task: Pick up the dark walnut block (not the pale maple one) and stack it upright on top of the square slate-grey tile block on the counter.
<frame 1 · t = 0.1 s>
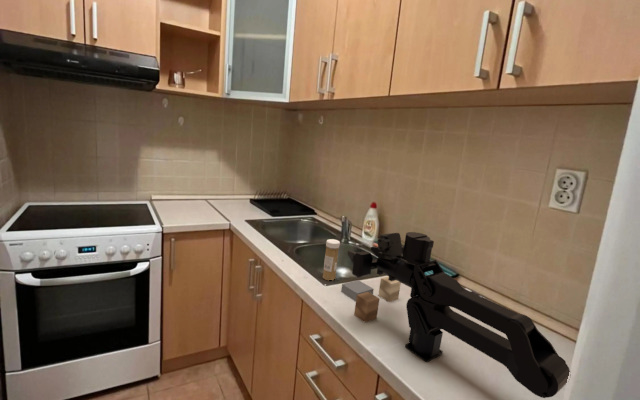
hand: (360, 250, 99), 17 cm above the countertop, tool horizontal, fingers open, 9 cm apart
tile block: (356, 295, 108), on the countertop
walnut block: (365, 316, 95), on the countertop
sprinkles bottle: (328, 278, 117), on the countertop
maple block: (388, 297, 108), on the countertop
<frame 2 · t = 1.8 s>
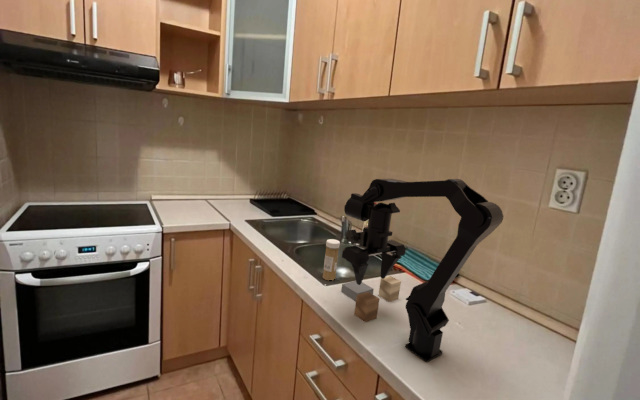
hand: (370, 281, 93), 11 cm above the countertop, tool pointing down, fingers open, 9 cm apart
nothing on the countertop moved.
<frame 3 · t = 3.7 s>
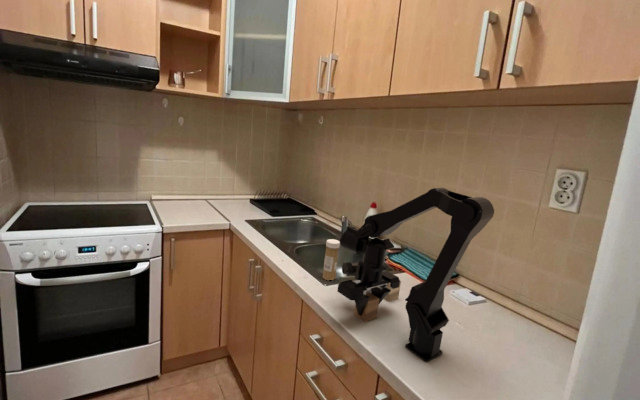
hand: (365, 313, 95), 1 cm above the countertop, tool pointing down, fingers closed on walnut block, 4 cm apart
walnut block: (365, 316, 95), on the countertop, touching gripper
everything else where it was.
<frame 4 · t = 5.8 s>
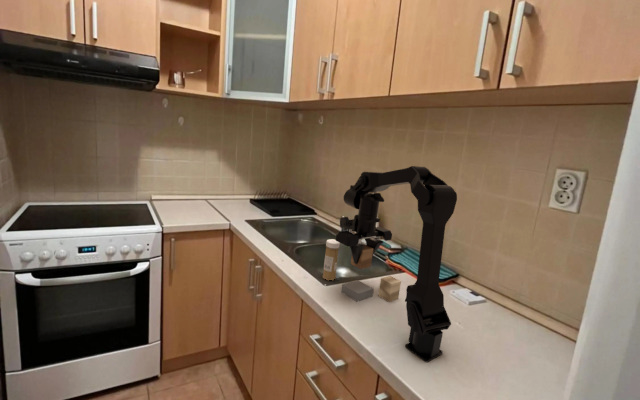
hand: (361, 262, 106), 11 cm above the countertop, tool pointing down, fingers closed on walnut block, 4 cm apart
walnut block: (360, 265, 106), point 10 cm above the countertop, touching gripper
everything else where it was.
when the fingers open (5 cm above the countertop, at t = 7.8 s): walnut block drops 1 cm, point 3 cm above the countertop.
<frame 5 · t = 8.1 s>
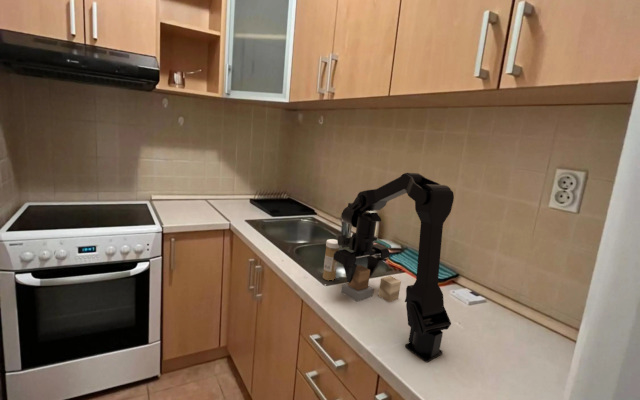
hand: (358, 280, 107), 5 cm above the countertop, tool pointing down, fingers open, 8 cm apart
walnut block: (357, 286, 107), point 3 cm above the countertop
everything else where it was.
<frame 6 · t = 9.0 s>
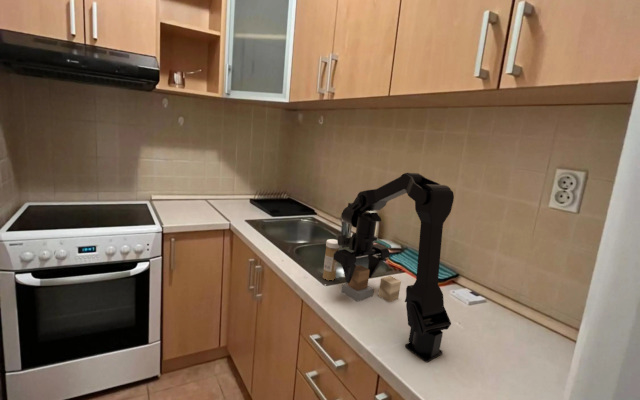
hand: (358, 280, 107), 5 cm above the countertop, tool pointing down, fingers open, 9 cm apart
tile block: (356, 295, 108), on the countertop, touching walnut block
walnut block: (357, 286, 107), point 3 cm above the countertop, touching tile block
everything else where it was.
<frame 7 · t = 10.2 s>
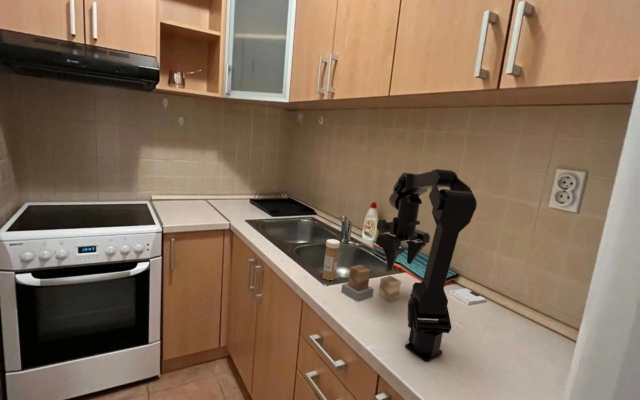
hand: (399, 266, 103), 12 cm above the countertop, tool pointing down, fingers open, 9 cm apart
tile block: (356, 295, 108), on the countertop
walnut block: (357, 286, 107), point 3 cm above the countertop
everything else where it was.
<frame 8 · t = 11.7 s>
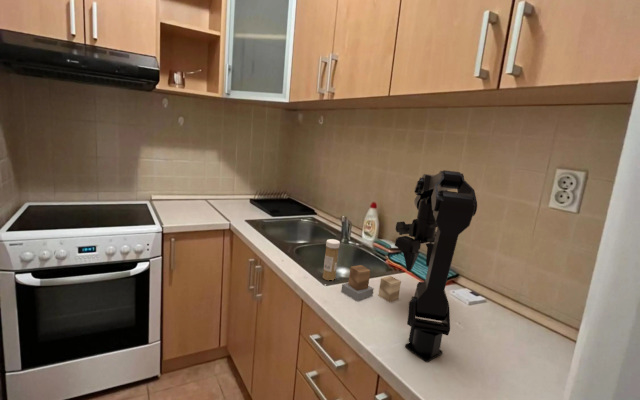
hand: (418, 268, 102), 12 cm above the countertop, tool pointing down, fingers open, 9 cm apart
tile block: (356, 295, 108), on the countertop, touching walnut block
walnut block: (357, 286, 107), point 3 cm above the countertop, touching tile block
everything else where it was.
at the end: walnut block 0.1 cm off-centre on the tile block, point 3.0 cm above the tile block's base; walnut block tilted 0°; the gripper is holding nothing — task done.
